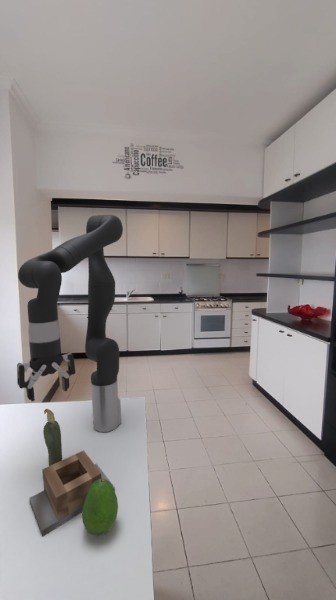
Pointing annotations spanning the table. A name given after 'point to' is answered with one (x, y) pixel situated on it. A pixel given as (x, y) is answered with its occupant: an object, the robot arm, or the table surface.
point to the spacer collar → (64, 491)
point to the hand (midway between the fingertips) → (49, 395)
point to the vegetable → (52, 438)
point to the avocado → (100, 507)
